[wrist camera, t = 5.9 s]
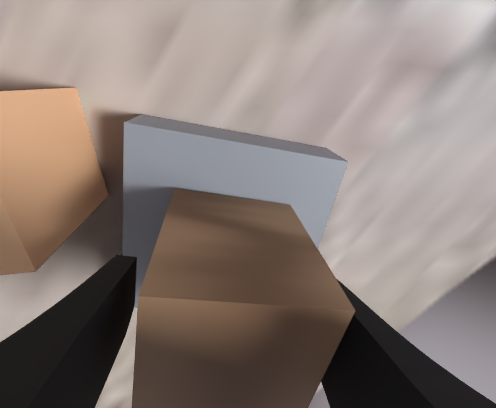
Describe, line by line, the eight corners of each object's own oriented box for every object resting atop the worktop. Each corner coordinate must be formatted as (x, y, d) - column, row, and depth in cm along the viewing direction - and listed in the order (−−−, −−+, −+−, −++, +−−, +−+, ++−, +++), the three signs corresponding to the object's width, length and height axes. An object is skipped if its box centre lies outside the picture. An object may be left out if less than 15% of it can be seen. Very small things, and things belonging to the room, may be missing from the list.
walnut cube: (164, 284, 13) (130, 432, 8) (174, 188, 11) (138, 296, 6) (264, 291, 14) (298, 428, 8) (290, 204, 12) (355, 310, 7)
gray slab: (137, 268, 16) (121, 306, 13) (144, 113, 13) (123, 122, 10) (281, 281, 18) (293, 317, 15) (323, 146, 14) (348, 161, 11)
